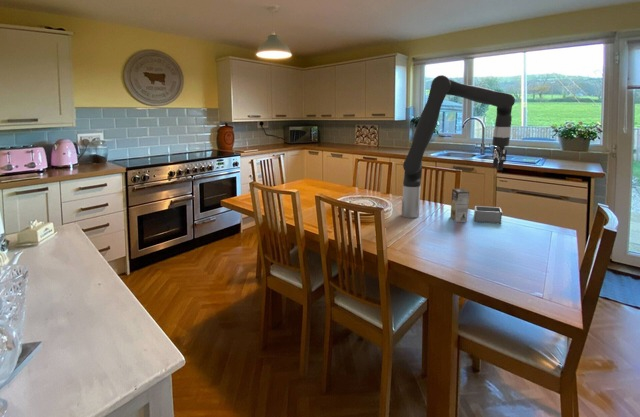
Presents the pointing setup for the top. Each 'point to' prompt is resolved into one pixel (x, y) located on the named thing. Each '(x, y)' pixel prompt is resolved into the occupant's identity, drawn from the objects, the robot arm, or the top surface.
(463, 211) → the coffee box
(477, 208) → the bin
